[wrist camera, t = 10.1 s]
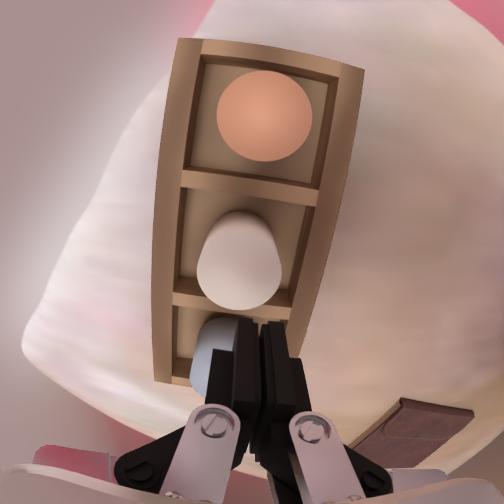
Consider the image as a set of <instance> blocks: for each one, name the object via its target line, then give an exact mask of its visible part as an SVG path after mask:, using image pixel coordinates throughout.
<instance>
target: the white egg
mask: <svg viewBox="0 0 504 504" xmlns="http://www.w3.org/2000/svg"><path fill="white" fill-rule="evenodd" d="M281 276H282V269H281V263H280V259H279V256H278V252H277V248H276V245H275V241H274V237H273V234H272V231H271V229H270V227H269V226H268V224H267V223H266V222H265V221H264V220H263V219H262V218H260V217H259V216H257V215H255V214H252V213H249V212H244V211H236V212H231V213H228V214H226V215H223V216H222V217H220V218H219V219H218V220H216V222H215V223H214V224H213V225H212V227H211V228H210V230H209V233H208V235H207V238H206V241H205V244H204V246H203V249H202V252H201V255H200V258H199V261H198V264H197V279H198V282H199V285H200V287H201V289H202V291H203V292H204V294H205V295H206V296H207V297H208V298H209V299H210V300H211V301H213V302H214V303H216V304H217V305H219V306H221V307H224V308H227V309H232V310H248V309H252V308H255V307H258V306H260V305H262V304H264V303H265V302H266V301H268V300H269V299H270V298H271V297H272V296H273V295H274V293H275V292H276V290H277V289H278V287H279V284H280V281H281Z"/></svg>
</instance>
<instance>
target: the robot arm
mask: <svg viewBox="0 0 504 504" xmlns="http://www.w3.org/2000/svg"><path fill="white" fill-rule="evenodd" d="M248 444H250V453H251V454H255V462H260V465H261V466H262V467H263V468H265V469H266V470H267V478H268V482H269V486H270V491H271V495H272V499H273V503H274V504H504V498H503V496H502V495H501V493H500V492H499V490H498V489H497V488H496V487H495V486H494V485H493V484H492V483H491V482H489V481H486V480H482V479H476V478H457V479H451V480H449V478H448V476H447V475H446V474H445V472H443V471H441V470H438V469H392V470H391V471H386V470H385V469H384V468H382V467H381V466H379V465H377V464H376V463H374V462H372V461H371V460H369V459H367V458H366V457H364V456H362V455H361V454H359V453H357V452H356V451H354V450H353V449H351V448H349V447H348V446H346V445H345V444H343V443H342V441H341V439H340V437H339V434H338V432H337V430H336V428H335V425H334V424H333V422H332V421H331V420H330V419H329V418H328V417H327V416H325V415H323V414H321V413H317V412H314V411H312V409H311V404H310V399H309V394H308V389H307V384H306V379H305V374H304V370H303V365H302V361H301V359H300V358H292V357H289V351H288V345H287V339H286V333H285V327H284V323H283V322H277V321H268V323H267V324H262V326H261V330H260V335H259V329H258V323H253V318H245V317H238V319H237V324H236V330H235V336H234V342H233V348H232V351H228V350H221V349H214V348H213V351H212V357H211V364H210V371H209V377H208V384H207V391H206V398H205V405H202V406H199V407H197V408H196V409H195V410H193V412H192V413H191V415H190V416H189V419H188V422H187V424H186V426H184V427H182V428H180V429H178V430H176V431H174V432H172V433H170V434H168V435H166V436H163V437H161V438H159V439H157V440H155V441H153V442H151V443H149V444H146V445H144V446H142V447H140V448H138V449H135V450H133V451H131V452H129V453H126V454H124V455H123V456H121V457H119V456H110V454H109V453H103V452H95V451H86V450H79V449H73V448H67V447H62V446H56V445H45V446H43V447H40V448H39V449H38V450H37V451H36V453H35V456H34V459H33V464H13V465H8V466H5V467H3V468H2V469H0V504H222V503H223V499H224V495H225V490H226V487H227V483H228V478H229V474H230V471H231V470H232V469H234V468H235V467H237V466H238V465H240V464H241V461H242V458H243V455H244V453H246V450H247V447H248Z"/></svg>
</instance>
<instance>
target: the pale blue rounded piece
mask: <svg viewBox="0 0 504 504" xmlns="http://www.w3.org/2000/svg"><path fill="white" fill-rule="evenodd" d="M236 324H237V319H233V318H226V317H222V318H216V319H213V320H210V321H208V322H207V323H205V324H204V325H203V326H202V327H201V329H200V330H199V333H198V337H197V342H196V347H195V352H194V357H193V362H192V367H191V372H190V383H191V385H192V387H193V389H194V390H195V391H196V392H197V393H198V394H200V395H201V396H203V397H205V398H206V391H207V384H208V377H209V371H210V364H211V357H212V351H213V348H214V349H221V350H228V351H232V348H233V342H234V336H235V330H236Z"/></svg>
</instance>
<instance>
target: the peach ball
mask: <svg viewBox="0 0 504 504" xmlns="http://www.w3.org/2000/svg"><path fill="white" fill-rule="evenodd" d="M217 124H218V128H219V131H220V133H221V136H222V138H223V139H224V141H225V142H226V143H227V144H228V146H229V147H230V148H231V149H233V150H234V151H235V152H236V153H238V154H239V155H241V156H243V157H245V158H248V159H251V160H255V161H263V162H264V161H275V160H279V159H282V158H285V157H287V156H289V155H290V154H292V153H294V152H295V151H296V150H297V149H298V148H299V147H300V146H301V145H302V144H303V143H304V141H305V140H306V138H307V136H308V134H309V132H310V129H311V125H312V109H311V104H310V101H309V99H308V97H307V95H306V93H305V92H304V90H303V89H302V88H301V87H300V85H298V84H297V83H296V82H295V81H294V80H292V79H291V78H289V77H287V76H286V75H283V74H281V73H278V72H273V71H254V72H250V73H247V74H244V75H242V76H240V77H239V78H237V79H235V80H234V81H233V82H232V83H231V84H230V85H229V86H228V87H227V88H226V89H225V90H224V92H223V94H222V95H221V97H220V100H219V102H218V107H217Z"/></svg>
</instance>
